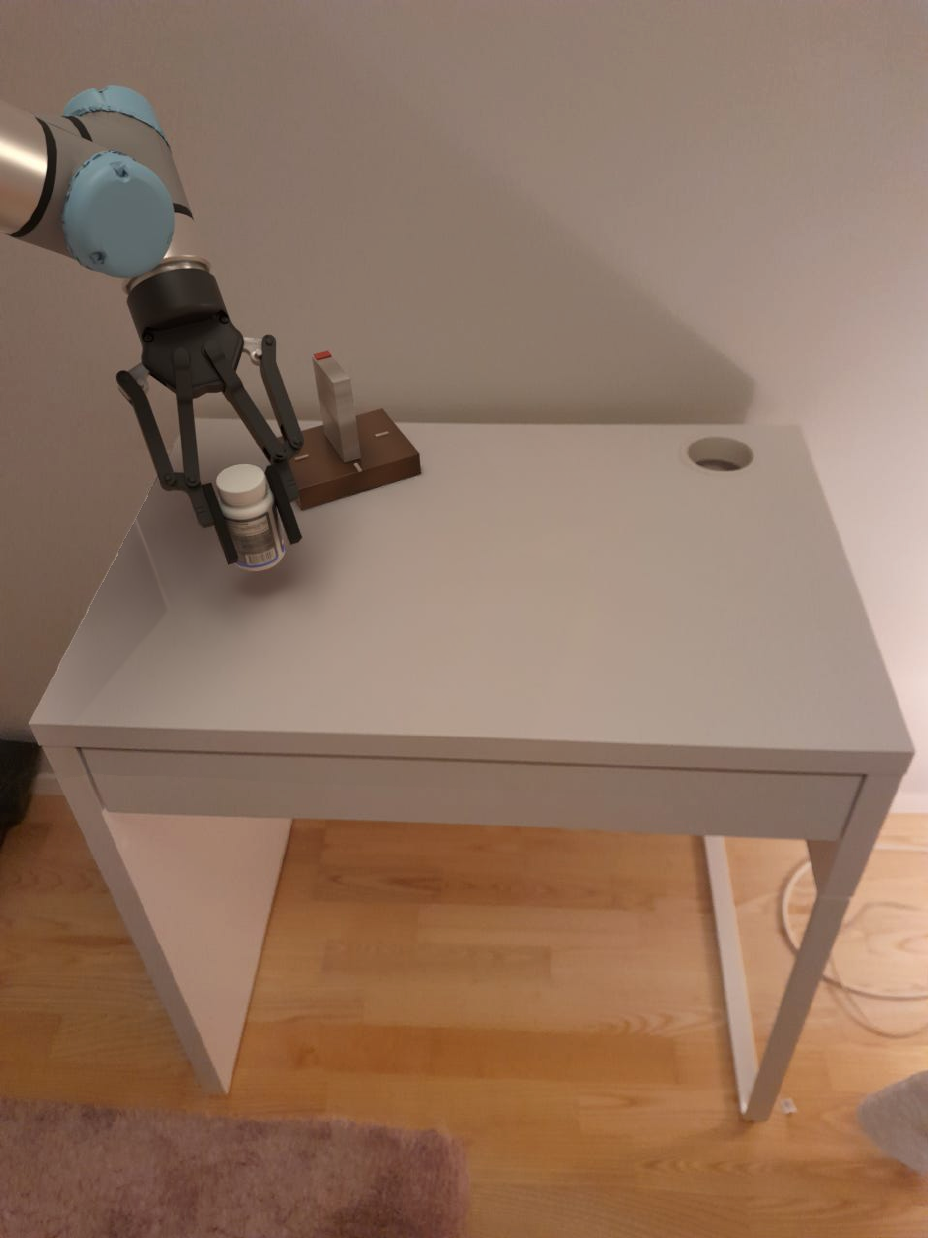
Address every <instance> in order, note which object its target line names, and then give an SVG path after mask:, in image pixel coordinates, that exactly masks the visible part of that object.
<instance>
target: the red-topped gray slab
mask: <svg viewBox="0 0 928 1238" xmlns="http://www.w3.org/2000/svg"><path fill="white" fill-rule="evenodd" d="M311 359H312V366H313V372H314V378H315V384H316V390H317V397H318V403H319V409H320V415H321V422H322V425H323V428H324V434H325V436H326V437H327V439H328V440H329V441H330V443H331V444H332V446H333V447H334V449H335V450H336V451H337V453H338V454H339V456H340V457H341V459H342V460H343V462H344V463H346V462H349V461H353V460H356V459H359V458H361V455H360V447H359V440H358V432H357V425H356V417H355V416H356V412H355V404H354V396H353V394H354V393H353V387H352V381H351V380H352V379H351V377H350V375H348V374H347V372H346V371H345V369H344V368H343V367H342V366H341V365H340V363H339V361H337V359H336V358H335V357H334V356H333V355H332V353H331V352H330V351H329V350H323V351H320V352H316V353H313V354H312V355H311Z"/></svg>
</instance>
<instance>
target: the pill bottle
mask: <svg viewBox="0 0 928 1238" xmlns="http://www.w3.org/2000/svg"><path fill="white" fill-rule="evenodd" d="M215 485H216V489H217V490H216V491H217V494H218V498H217V499H218V502H219V505H220V508H221V510H222V513H223V516H224V519H225V522H226V524H227V527H228V530H229V533H230V536H231V538H232V541H233V544H234V547H235V549H236V552H237V555H238V560H237V562H236V563H234V564H235V565H236V567H238V568H239V569H242V570H245V571H250V572H259V571H265V570H268V569H270V568H272V567H274V566H276V565H277V564H279V563H280V561H281V560H282V559H283V558H284V556H285V554H286V544H285V540H284V536H283V530H282V526H281V522H280V516H279V512H278V510H277V507H276V503H275V498H274V495H273V493H272V491H271V490H270V487H269V486H268V482H267V479H266V476H265V471H264V470H263V469H262V468H260V467H259V466H257V465H255V464H252V463H251V464H250V463H239V464H238V463H237V464H234V465H230V466H229V467H226V468H224V469H223V470H221V471H220V472H219V474H218V475H217V476H216V479H215Z"/></svg>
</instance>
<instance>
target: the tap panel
mask: <svg viewBox="0 0 928 1238" xmlns="http://www.w3.org/2000/svg"><path fill="white" fill-rule="evenodd" d="M355 417H356V425H357V432H358V440H359V447H360V455H361V458H359V459H356V460H353V461H349V462H346V463H344V462H343V460H342V459H341V457H340V456H339V454H338V453H337V451H336V450H335V449H334V447H333V446H332V444H331V443H330V441H329V440H328V439H327V437H326V436H325V434H324V428H323V424H320V425H317V426H314V427H310V428H306V429H303V430H301V433H302V435H303V438H304V445H303V447H302V449H301V451H300V452H299V454H297V455H295V456H293V457H292V458H291V459H290V460H289V465H290V468H291V471H292V473H293V476H294V479H295V482H296V485H297V487H298V490H299V497H298V499H297V501H296V503H297V505H298V506H299V508H300V509H301V510H306V509H309V508H313V507H316V506H319V505H323V504H326V503H329V502H333V501H336V500H339V499H343V498H345V497H349V496H352V495H356V494H358V493H362V492H365V491H368V490H371V489H375V488H379V487H381V486H385V485H388V484H391V483H394V482H395V483H396V482H398V481H401V480H404V479H408V478H411V477H415V476H417V475H421V474H422V468H421V455H420V452H419V451H418V449H416V447H415V446H414V445H413V443H412V442H411V441H410V440H409V439H408V437H407V436H406V435H405V434H404V433H403V431H402V430H401V429H400V428H399V426H398V425H397V424H396V423H395V422H394V420H393V419H392V418H391V416H389V414H388V413H387V412H386V411H385V409H384V408H383V407H382V408H378V409H375V410H371V411H368V412H363V413H359V414H355ZM276 437H277V436H276ZM277 439H278V440H279V442H280V443H281V445H282V444H283V443H284V440H283V437H282V435H281V436H278V437H277Z"/></svg>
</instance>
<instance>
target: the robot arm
mask: <svg viewBox="0 0 928 1238" xmlns="http://www.w3.org/2000/svg"><path fill="white" fill-rule="evenodd" d="M0 233H2V234H4V235H7V236H9V237H11V238H14V239H15V240H16V239H17V240H19V241H22V242H25V243H28V244H30V245H33V246H36V247H39V248H41V249H45V250H48V251H50V252H54V253H56V254H60V255H63V256H65V257H67V258H70V259H72V260H74V261H77V263H78V264H79V265H80V266H82V267H84V268H85V269H87V270H89V271H92V272H97V273H101V274H104V275H106V276H109V277H112V278H117V280H118V283H119V285H120V288H121V291H122V293H123V294H125V295H126V296H127V297H126V305H127V308H128V311H129V314H130V316H131V319H132V322H133V325H134V328H135V331H136V333H137V336H138V338H139V342H140V344H141V347H142V351H141V356H140V360H141V362H139V363H138V364H136V365H135V366H133V367H132V368H130V369H128V370H124V369H121V370H118V371H117V372H116V374H115V381H116V386H117V389H118V391H119V392H120V394H121V395H122V397H124V398H125V400H126V401H127V402H128V404H129V405H130V406H131V407H132V409H133V412H134V415H135V418H136V420H137V423H138V426H139V428H140V431H141V434H142V436H143V440H144V442H145V445H146V448H147V451H148V454H149V456H150V459H151V461H152V465H153V467H154V471H155V473H156V475H157V478H158V481H159V485H160V487H161V488H162V489H163V490H164V491H166V492H171V491H178V492H179V491H180V492H184V493H186V495H188V498H189V500H190V504H191V506H192V509H193V511H194V514H195V517H196V519H197V524H198V525H199V526H200V528H202V529H203V530H204V529H208V528H212V527H214V530H215V532H216V535H217V538H218V541H219V543H220V546H221V549H222V552H223V556H224V557H225V561H226V563H227V565H228V566H230V565H232V564H235V563H236V562H237V560H238V555H237V552H236V549H235V547H234V544H233V541H232V538H231V536H230V533H229V530H228V527H227V524H226V522H225V519H224V516H223V513H222V510H221V508H220V505H219V502H218V499H219V498H218V497H217V494H216V491H215V488H214V485H213V483H212V481H210V482H207V483H203V484H202V481H201V473H200V470H201V469H200V461H199V452H198V450H199V449H198V441H197V431H196V420H195V410H194V400H195V399H199V398H201V397H203V396H204V395H206V394H218V393H222V395H223V396H224V398H225V399H226V401H227V402H228V403H229V404H230V405H231V406H232V408H233V409H234V411H235V413H236V414H237V416H238V417H239V419H240V421H242V423H243V425H244V427H245V428H246V429H247V431H248V432H249V435H251V437H252V439H253V440H254V442H255V443H256V445H257V446H258V448H259V449H260V451H261V452H262V454H263V455H264V457H265V458H266V460H267V462H268V463H269V465H266V467H265V470H264V475H265V479H266V483H267V486H268V488H270V490H271V491H272V493H273V495H274V498H275V503H276V508H277V512H278V516H279V519H280V520H281V523H282V526H283V529H284V532H285V534H286V537H287V540H288V543H289V545H290V546H292V545H295V544H299V543H300V541H301V540H302V539H303V536H302V532H301V529H300V527H299V525H298V522H297V519H296V516H295V514H294V510H293V507H292V505H291V503H294V502H297V499H298V497H299V490H298V487H297V485H296V482H295V479H294V476H293V473H292V471H291V468H290V465H289V460H290V459H291V458H292V457H293V456H295V455H297V454H299V452H300V451H301V449H302V447H303V445H304V438H303V435H302V433H301V431H302V430H301V427H300V424H299V421H298V418H297V416H296V413H295V410H294V408H293V405H292V402H291V399H290V397H289V394H288V391H287V388H286V385H285V383H284V379H283V376H282V374H281V371H280V369H279V366H278V363H277V339H276V337H275V336H273V335H272V334H265V335H263V336H262V338H258V337H247V336H244V335H243V333H242V332H241V331H240V330H239V329H238V328H237V327H236V326H235V325H234V324H233V322H232V321H231V320H232V319H231V317H230V315H229V312H228V309H227V307H226V303H225V301H224V298H223V295H222V292H221V289H220V286H219V284H218V281H217V278H216V277H215V275H213V273H211V272H212V264H211V261H210V259H209V256H208V254H207V251H206V248H205V246H204V243H203V240H202V237H201V234H200V232H199V229H198V227H197V223H196V221H195V219H194V216H193V212H192V210H191V206H190V203H189V201H188V198H187V195H186V193H185V189H184V186H183V183H182V180H181V178H180V175H179V172H178V169H177V165H176V163H175V159H174V155H173V151H172V147H171V144H170V143H169V140H168V138H167V136H166V135H165V132H164V130H163V128H162V125H161V123H160V121H159V118H158V116H157V115H156V113H155V111H154V108H153V107H152V104H151V103H150V102H149V100H148V99H147V98H146V97H145V96H144V95H143V94H141V93H139V92H138V91H136V90H134V89H132V88H130V87H127V86H122V85H114V84H110V85H106V86H105V87H104V88H100V89H98V88H95V87H91V88H87V89H84V90H82V91H81V92H79V93H77V94H76V95H74V96H73V97H71V99H70V100H68V102H67V103H66V105H65V106H64V108H63V111H62V115H53V114H52V115H51V114H43V113H38V112H37V113H36V112H30V111H26V110H24V109H22V108H19V107H17V106H15V105H13V104H11V103H9V102H6V101H5V100H2V99H0ZM243 353H245V354H247V355H248V357H249V359H250V362H251V364H253V365H254V366H257V367H258V368H259V374H260V378H261V382H262V384H263V386H264V387H263V388H264V389H265V392H266V395H267V397H268V400H269V401H268V402H269V403H270V406H271V409H272V412H273V414H274V417H275V421H276V423H277V426H278V429H279V431H280V434H281V436H282V437H283V440H284V443H283V444H282V445H281V443H280V442H279V440H278V439H277V435H276V434H275V432H274V431H273V429H272V428H271V426H270V425H269V424H268V422H267V420H266V418H265V417H264V416H263V414H262V412H261V411H260V410H259V408H258V407H257V405H256V403H255V401H253V399H252V397H251V396H250V394H249V393H248V391H247V390H246V388H245V386H244V383H243V381H242V379H241V377H239V375H238V373H237V370H238V367H239V363H240V360H241V357H242V354H243ZM149 377H152V378H153V379H154V380H156V381H157V382H158V383H160V384H161V385H163V386H164V387H166V388H167V389H168V390H169V391H171V392H172V393H174V394H175V400H176V406H177V407H176V408H177V417H178V418H177V419H178V429H179V439H180V449H181V460H182V469H183V472H181V471H174V468H173V465H172V462H171V460H170V457H169V454H168V451H167V448H166V446H165V443H164V439H163V438H162V434H161V432H160V429H159V426H158V423H157V421H156V418H155V415H154V412H153V409H152V407H151V404H150V401H149V399H148V396H147V394H148V393H149V390H150V388H149V382H148V378H149Z"/></svg>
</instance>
